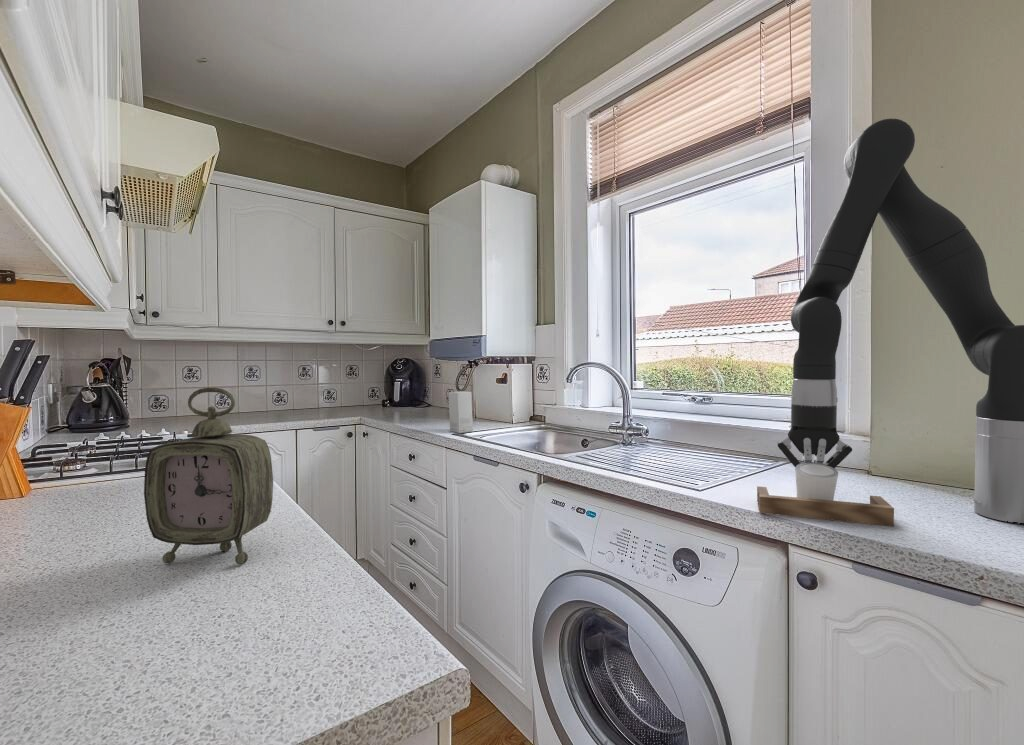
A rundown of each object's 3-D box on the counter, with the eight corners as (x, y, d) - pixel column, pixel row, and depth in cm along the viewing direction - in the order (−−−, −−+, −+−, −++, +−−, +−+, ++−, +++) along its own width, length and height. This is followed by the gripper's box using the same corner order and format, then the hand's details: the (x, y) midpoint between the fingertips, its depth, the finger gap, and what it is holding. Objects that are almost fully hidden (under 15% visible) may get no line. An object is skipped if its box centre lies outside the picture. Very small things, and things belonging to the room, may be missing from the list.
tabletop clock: (146, 569, 69) (140, 390, 69) (191, 544, 78) (186, 386, 78) (247, 570, 69) (242, 389, 68) (281, 545, 78) (276, 385, 77)
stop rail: (880, 512, 90) (880, 496, 90) (893, 526, 83) (894, 508, 83) (757, 501, 98) (757, 486, 97) (759, 512, 91) (759, 496, 90)
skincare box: (473, 432, 192) (472, 391, 191) (457, 433, 188) (457, 392, 188) (463, 429, 199) (463, 390, 198) (448, 431, 196) (447, 391, 195)
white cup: (843, 512, 90) (846, 476, 89) (803, 513, 91) (805, 477, 90) (824, 495, 97) (826, 461, 95) (787, 496, 98) (788, 462, 96)
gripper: (849, 401, 97) (848, 489, 98) (773, 399, 102) (772, 483, 103) (859, 405, 90) (857, 500, 91) (776, 403, 95) (775, 493, 96)
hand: (812, 491), depth 97 cm, fingers closed
